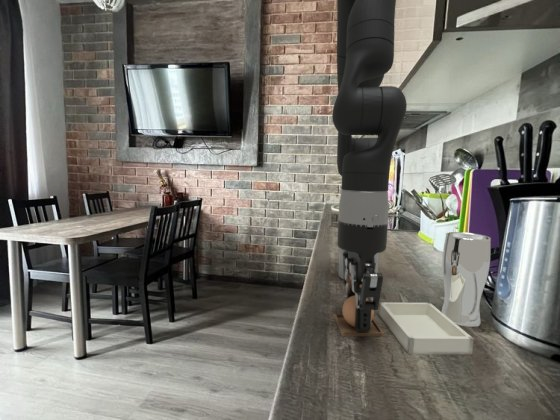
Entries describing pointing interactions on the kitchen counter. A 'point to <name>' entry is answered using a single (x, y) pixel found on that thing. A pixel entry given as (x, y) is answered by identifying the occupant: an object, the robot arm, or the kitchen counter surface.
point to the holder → (350, 331)
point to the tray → (425, 329)
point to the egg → (351, 310)
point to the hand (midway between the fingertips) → (357, 321)
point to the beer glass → (464, 276)
